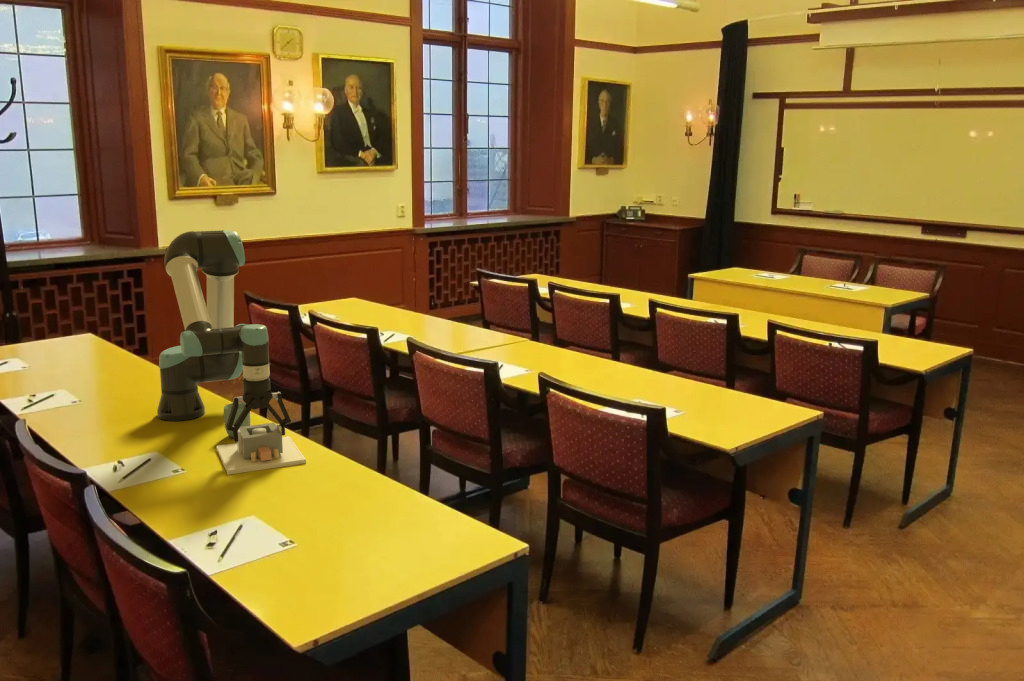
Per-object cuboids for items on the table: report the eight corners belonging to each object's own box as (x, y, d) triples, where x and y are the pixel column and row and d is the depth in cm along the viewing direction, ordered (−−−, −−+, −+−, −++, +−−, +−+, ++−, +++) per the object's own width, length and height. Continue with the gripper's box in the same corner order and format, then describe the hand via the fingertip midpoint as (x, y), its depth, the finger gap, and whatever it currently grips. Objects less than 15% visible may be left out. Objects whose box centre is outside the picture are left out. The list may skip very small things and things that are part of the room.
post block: (216, 449, 254) (215, 423, 253) (289, 439, 264) (288, 415, 262) (227, 474, 235) (226, 447, 233) (306, 463, 245) (305, 436, 243)
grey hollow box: (238, 446, 252) (236, 427, 250) (275, 441, 256) (274, 422, 255) (246, 462, 239) (245, 443, 237) (285, 457, 243) (284, 437, 242)
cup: (243, 441, 262) (241, 410, 260) (220, 438, 264) (218, 408, 261) (255, 433, 270) (254, 403, 267) (233, 431, 271) (231, 401, 269)
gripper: (216, 385, 236) (220, 458, 241) (299, 376, 246) (302, 447, 251) (212, 378, 242) (217, 450, 247) (294, 370, 253) (296, 439, 258)
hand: (260, 448), depth 249 cm, fingers closed on grey hollow box, 11 cm apart
